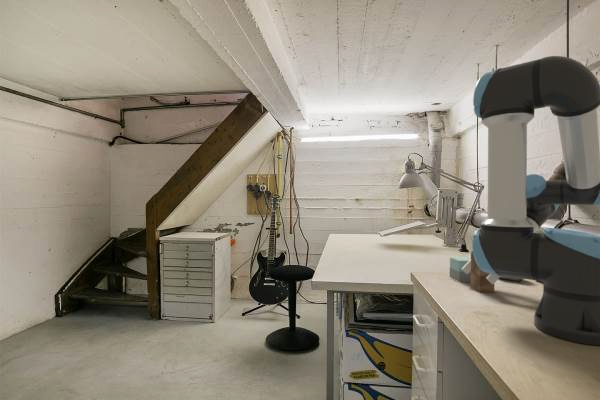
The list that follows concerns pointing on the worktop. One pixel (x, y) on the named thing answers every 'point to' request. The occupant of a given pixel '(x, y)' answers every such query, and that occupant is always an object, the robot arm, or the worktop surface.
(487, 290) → the walnut post
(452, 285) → the worktop surface
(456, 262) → the tower mid
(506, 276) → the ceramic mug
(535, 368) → the worktop surface
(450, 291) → the worktop surface
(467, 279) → the tower base
